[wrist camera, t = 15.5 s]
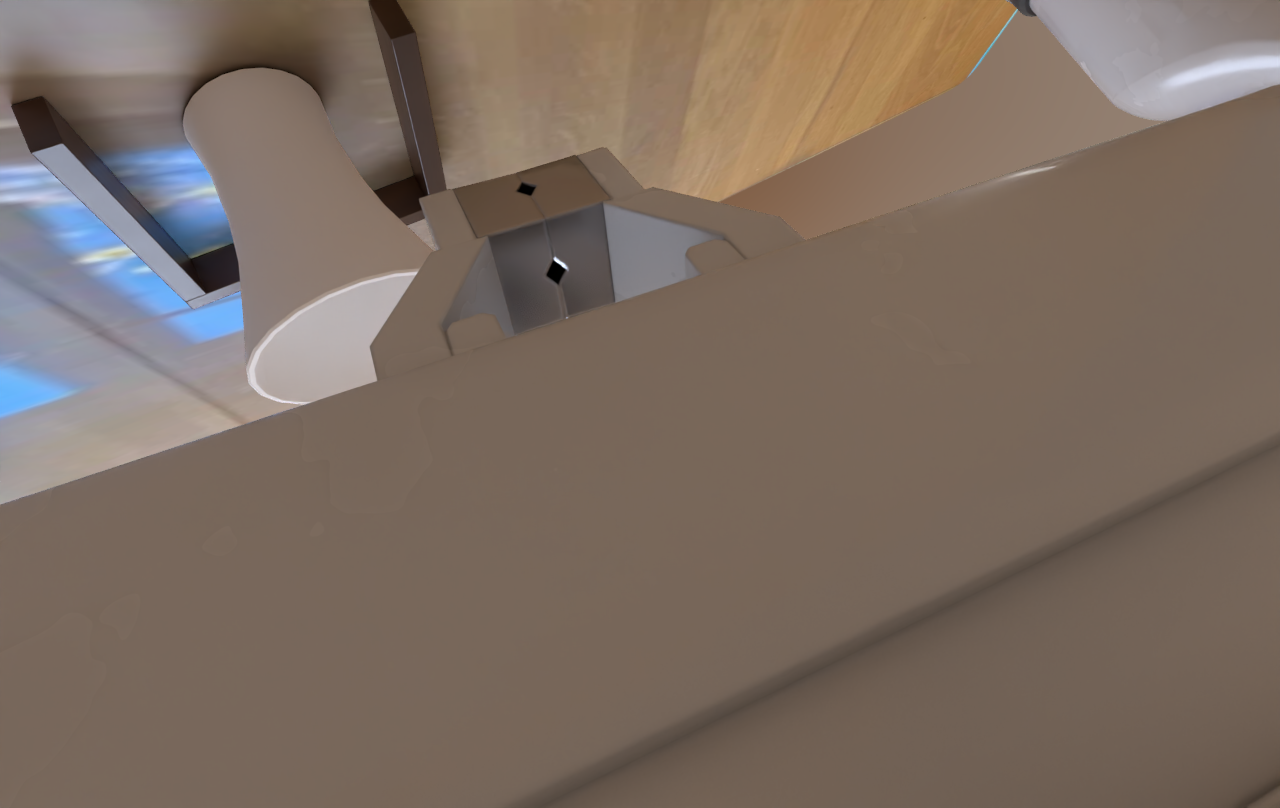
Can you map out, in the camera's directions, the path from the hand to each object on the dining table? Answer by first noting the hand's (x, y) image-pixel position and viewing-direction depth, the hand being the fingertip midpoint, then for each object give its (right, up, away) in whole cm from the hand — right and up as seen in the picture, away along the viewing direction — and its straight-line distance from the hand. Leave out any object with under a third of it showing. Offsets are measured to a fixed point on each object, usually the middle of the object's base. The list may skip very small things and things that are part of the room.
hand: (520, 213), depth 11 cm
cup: (-17, +11, +24) cm, 31 cm away
